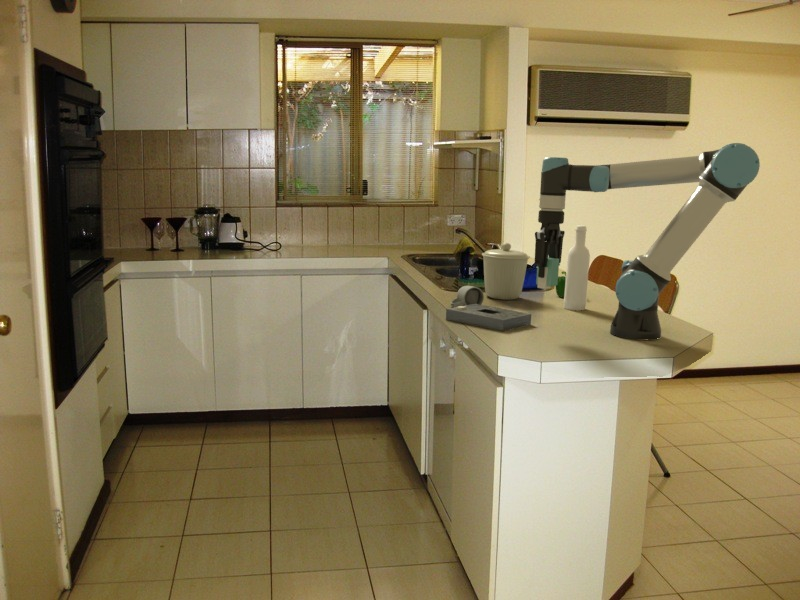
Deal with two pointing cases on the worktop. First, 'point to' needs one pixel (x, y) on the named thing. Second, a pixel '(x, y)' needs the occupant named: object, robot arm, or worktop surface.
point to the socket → (488, 317)
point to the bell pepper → (561, 285)
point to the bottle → (577, 272)
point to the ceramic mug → (468, 296)
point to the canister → (504, 272)
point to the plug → (551, 272)
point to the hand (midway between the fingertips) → (546, 287)
